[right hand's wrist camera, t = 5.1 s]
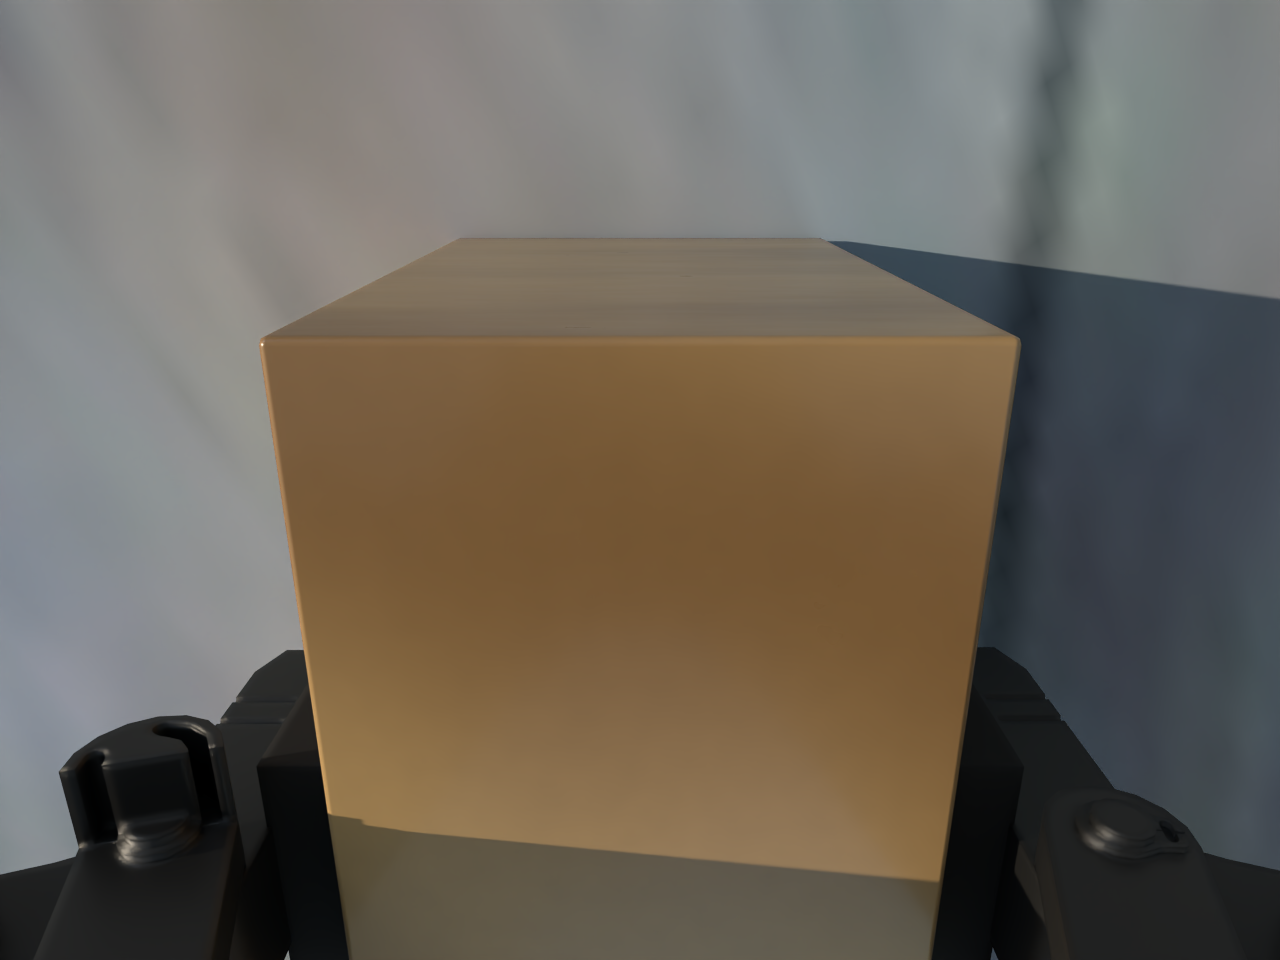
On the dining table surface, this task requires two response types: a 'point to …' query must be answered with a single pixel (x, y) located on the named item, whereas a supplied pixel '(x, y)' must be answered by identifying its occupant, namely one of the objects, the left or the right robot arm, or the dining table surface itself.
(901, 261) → the dining table surface
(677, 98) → the dining table surface
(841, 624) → the bar
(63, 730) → the dining table surface
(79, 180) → the dining table surface
